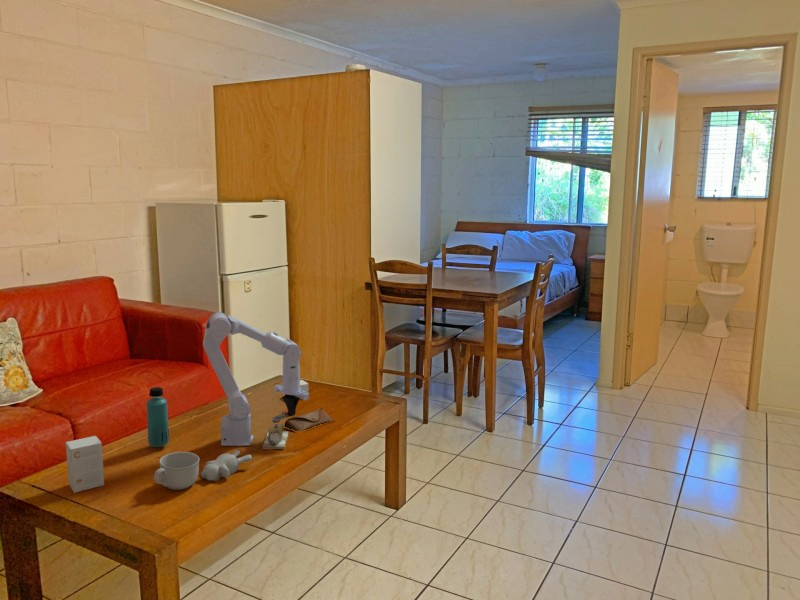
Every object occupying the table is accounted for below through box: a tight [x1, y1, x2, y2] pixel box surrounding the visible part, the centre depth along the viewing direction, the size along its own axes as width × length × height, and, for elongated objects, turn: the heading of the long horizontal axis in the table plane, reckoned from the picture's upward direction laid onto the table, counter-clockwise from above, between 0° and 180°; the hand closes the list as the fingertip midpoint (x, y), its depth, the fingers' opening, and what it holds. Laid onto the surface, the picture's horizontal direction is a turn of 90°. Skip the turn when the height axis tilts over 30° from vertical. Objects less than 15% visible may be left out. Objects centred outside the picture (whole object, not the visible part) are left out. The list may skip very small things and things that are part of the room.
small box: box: [65, 435, 105, 494], centre depth 179 cm, size 8×6×13 cm
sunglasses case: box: [284, 407, 334, 431], centre depth 229 cm, size 18×7×7 cm, turn 140°
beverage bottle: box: [145, 386, 170, 448], centre depth 204 cm, size 6×7×20 cm
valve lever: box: [271, 408, 291, 424], centre depth 215 cm, size 10×2×2 cm, turn 155°
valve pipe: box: [267, 423, 284, 446], centre depth 213 cm, size 11×4×6 cm, turn 3°
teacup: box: [153, 451, 200, 491], centre depth 180 cm, size 14×11×8 cm
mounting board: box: [261, 430, 290, 450], centre depth 213 cm, size 13×7×1 cm, turn 3°
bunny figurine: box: [200, 449, 253, 482], centre depth 190 cm, size 10×5×15 cm
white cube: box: [300, 379, 310, 394], centre depth 257 cm, size 6×6×6 cm
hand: (291, 415), depth 218 cm, fingers closed, pressing on valve lever
